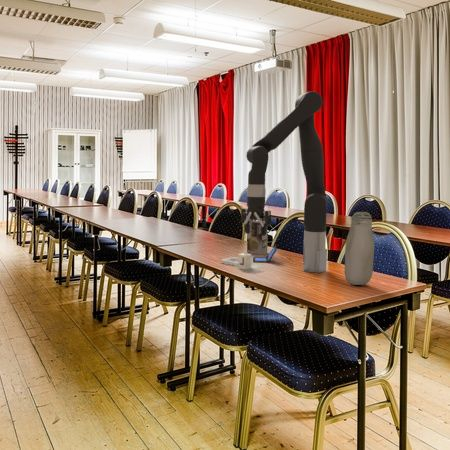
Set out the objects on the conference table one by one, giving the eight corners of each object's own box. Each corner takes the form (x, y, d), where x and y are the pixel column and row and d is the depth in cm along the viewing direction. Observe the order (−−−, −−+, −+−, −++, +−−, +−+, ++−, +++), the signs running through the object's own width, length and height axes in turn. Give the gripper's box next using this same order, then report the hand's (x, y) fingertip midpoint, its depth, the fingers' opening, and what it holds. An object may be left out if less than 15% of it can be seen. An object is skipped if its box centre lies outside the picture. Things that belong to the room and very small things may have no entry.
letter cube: (251, 267, 210) (251, 254, 209) (245, 269, 207) (245, 255, 206) (244, 266, 213) (244, 252, 212) (237, 267, 210) (238, 253, 209)
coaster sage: (264, 267, 214) (264, 266, 214) (256, 269, 210) (256, 268, 209) (254, 265, 218) (254, 264, 218) (245, 267, 214) (245, 266, 213)
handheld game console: (253, 259, 235) (253, 243, 234) (275, 259, 234) (276, 244, 233) (252, 264, 222) (252, 248, 221) (276, 265, 221) (276, 249, 221)
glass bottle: (360, 289, 178) (364, 213, 175) (338, 284, 186) (342, 211, 183) (377, 286, 184) (381, 212, 181) (355, 280, 192) (359, 210, 189)
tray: (248, 264, 221) (249, 260, 220) (235, 267, 214) (235, 262, 214) (234, 261, 227) (234, 257, 226) (220, 264, 220) (220, 259, 220)
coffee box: (267, 252, 251) (268, 221, 249) (261, 254, 246) (262, 222, 244) (252, 250, 256) (253, 220, 254) (246, 252, 251) (247, 221, 249)
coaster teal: (254, 269, 210) (254, 267, 210) (245, 271, 206) (245, 270, 206) (243, 267, 214) (243, 265, 214) (234, 269, 210) (234, 267, 210)
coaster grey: (264, 272, 204) (264, 271, 204) (255, 274, 200) (255, 273, 200) (253, 270, 208) (253, 269, 208) (244, 272, 204) (244, 271, 204)
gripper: (275, 196, 198) (274, 235, 200) (248, 194, 207) (247, 231, 209) (264, 196, 192) (263, 237, 194) (237, 194, 202) (236, 233, 204)
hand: (255, 234), depth 202 cm, fingers open, 8 cm apart
